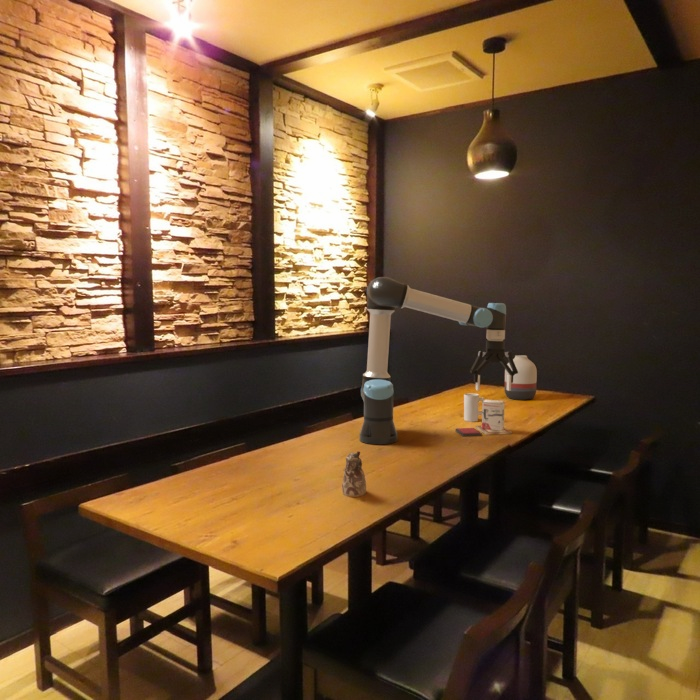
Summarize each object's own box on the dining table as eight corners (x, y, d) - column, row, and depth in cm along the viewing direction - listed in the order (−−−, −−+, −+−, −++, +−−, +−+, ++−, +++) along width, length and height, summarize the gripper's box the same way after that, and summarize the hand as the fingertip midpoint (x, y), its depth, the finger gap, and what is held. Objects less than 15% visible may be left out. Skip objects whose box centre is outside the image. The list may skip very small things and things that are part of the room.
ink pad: (462, 436, 243) (462, 433, 243) (455, 430, 253) (455, 428, 253) (481, 435, 244) (481, 432, 244) (473, 430, 254) (473, 427, 254)
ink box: (481, 428, 252) (481, 401, 251) (484, 426, 257) (484, 399, 256) (501, 431, 248) (502, 402, 247) (504, 428, 253) (505, 400, 252)
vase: (539, 397, 333) (540, 355, 331) (531, 402, 319) (532, 358, 316) (509, 394, 342) (510, 353, 340) (500, 399, 328) (501, 356, 325)
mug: (463, 421, 271) (463, 395, 270) (463, 418, 278) (464, 392, 277) (485, 422, 269) (486, 396, 268) (486, 419, 275) (486, 393, 274)
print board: (486, 434, 246) (486, 432, 246) (475, 427, 258) (475, 425, 258) (511, 433, 247) (511, 431, 247) (500, 426, 260) (500, 424, 260)
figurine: (336, 492, 175) (336, 452, 174) (354, 487, 180) (353, 448, 179) (354, 498, 170) (354, 457, 169) (371, 492, 175) (371, 452, 174)
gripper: (469, 340, 244) (467, 391, 246) (527, 341, 247) (525, 391, 249) (463, 338, 251) (461, 388, 253) (520, 339, 254) (517, 388, 256)
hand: (493, 390), depth 251 cm, fingers open, 13 cm apart
